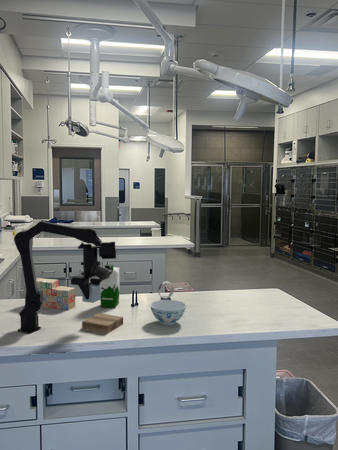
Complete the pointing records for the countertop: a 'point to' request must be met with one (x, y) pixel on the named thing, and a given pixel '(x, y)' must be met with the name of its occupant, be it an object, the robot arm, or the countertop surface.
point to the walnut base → (102, 323)
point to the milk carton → (110, 290)
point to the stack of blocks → (56, 294)
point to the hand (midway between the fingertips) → (91, 297)
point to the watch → (162, 289)
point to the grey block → (92, 294)
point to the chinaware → (168, 311)
